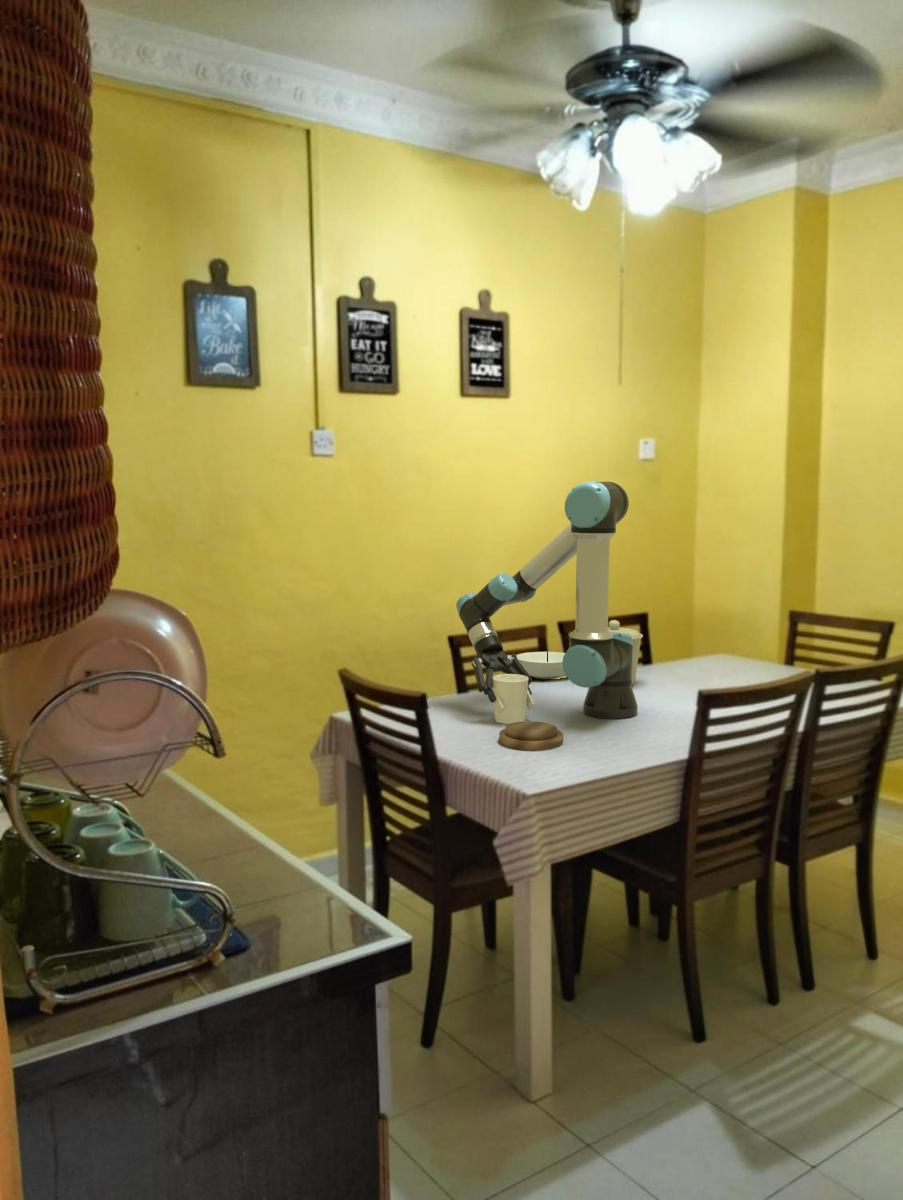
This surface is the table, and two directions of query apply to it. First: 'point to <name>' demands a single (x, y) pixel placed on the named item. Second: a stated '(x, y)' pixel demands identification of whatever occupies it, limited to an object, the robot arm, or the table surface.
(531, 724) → the walnut pedestal
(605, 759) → the table surface
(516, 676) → the candle holder
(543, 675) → the serving bowl
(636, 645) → the canister
